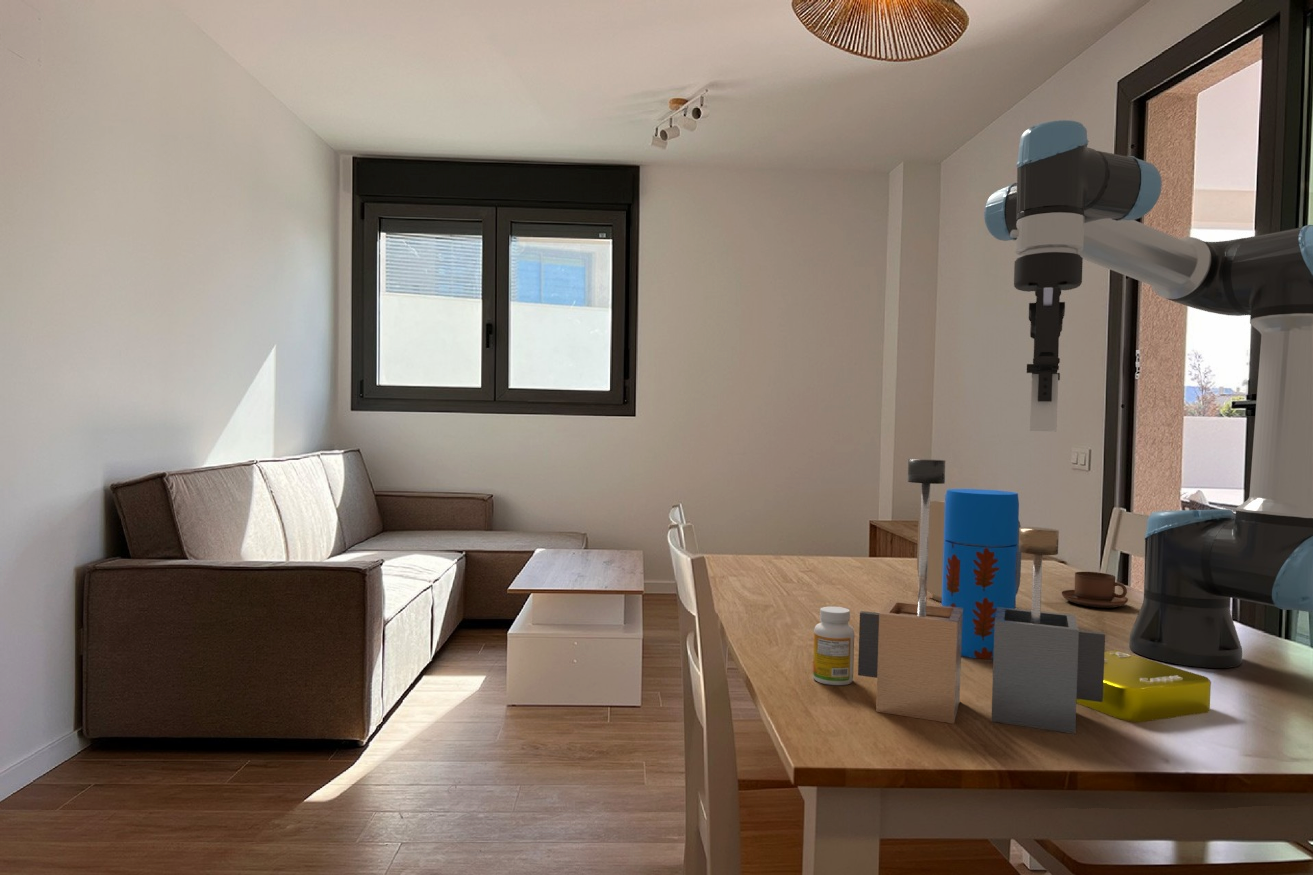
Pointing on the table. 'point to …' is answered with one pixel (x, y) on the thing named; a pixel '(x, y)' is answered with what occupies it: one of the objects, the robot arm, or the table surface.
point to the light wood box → (913, 659)
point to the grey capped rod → (925, 517)
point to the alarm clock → (937, 547)
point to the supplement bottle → (833, 647)
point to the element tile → (1149, 690)
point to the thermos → (980, 562)
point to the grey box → (1044, 669)
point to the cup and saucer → (1096, 590)
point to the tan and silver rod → (1037, 558)
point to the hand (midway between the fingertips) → (1042, 431)
